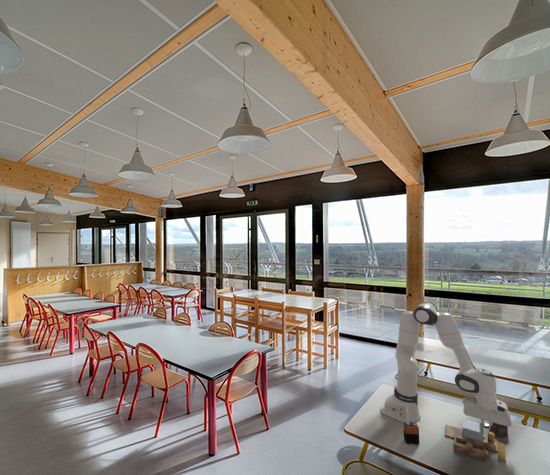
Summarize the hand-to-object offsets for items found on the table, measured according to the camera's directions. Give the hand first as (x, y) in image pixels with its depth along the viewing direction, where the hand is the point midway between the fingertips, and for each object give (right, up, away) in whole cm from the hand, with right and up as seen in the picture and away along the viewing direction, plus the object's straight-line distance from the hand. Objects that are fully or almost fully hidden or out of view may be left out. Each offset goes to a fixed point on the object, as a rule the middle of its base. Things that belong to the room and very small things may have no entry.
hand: (486, 428), depth 149 cm
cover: (-5, -7, +3) cm, 9 cm away
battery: (-39, -9, +2) cm, 40 cm away
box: (+12, -8, +8) cm, 17 cm away
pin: (0, -8, -10) cm, 13 cm away
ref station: (-6, -8, +4) cm, 11 cm away
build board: (-12, -8, -4) cm, 15 cm away
